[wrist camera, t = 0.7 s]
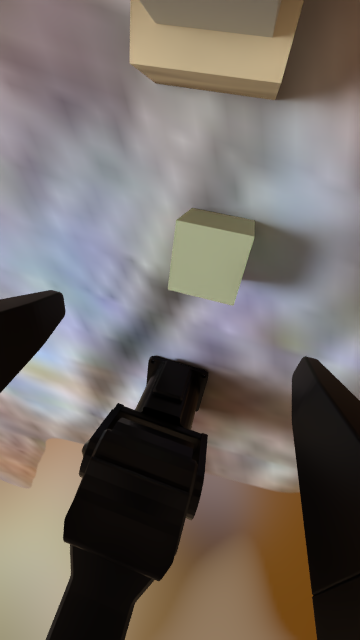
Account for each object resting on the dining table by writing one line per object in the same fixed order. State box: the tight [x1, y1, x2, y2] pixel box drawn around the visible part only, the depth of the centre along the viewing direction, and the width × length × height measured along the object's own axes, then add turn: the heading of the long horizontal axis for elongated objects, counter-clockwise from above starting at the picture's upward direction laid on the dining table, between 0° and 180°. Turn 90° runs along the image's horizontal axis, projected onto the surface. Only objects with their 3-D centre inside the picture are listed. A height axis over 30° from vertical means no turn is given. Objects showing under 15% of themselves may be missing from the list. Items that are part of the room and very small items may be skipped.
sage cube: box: [168, 208, 255, 305], centre depth 17 cm, size 4×4×4 cm
